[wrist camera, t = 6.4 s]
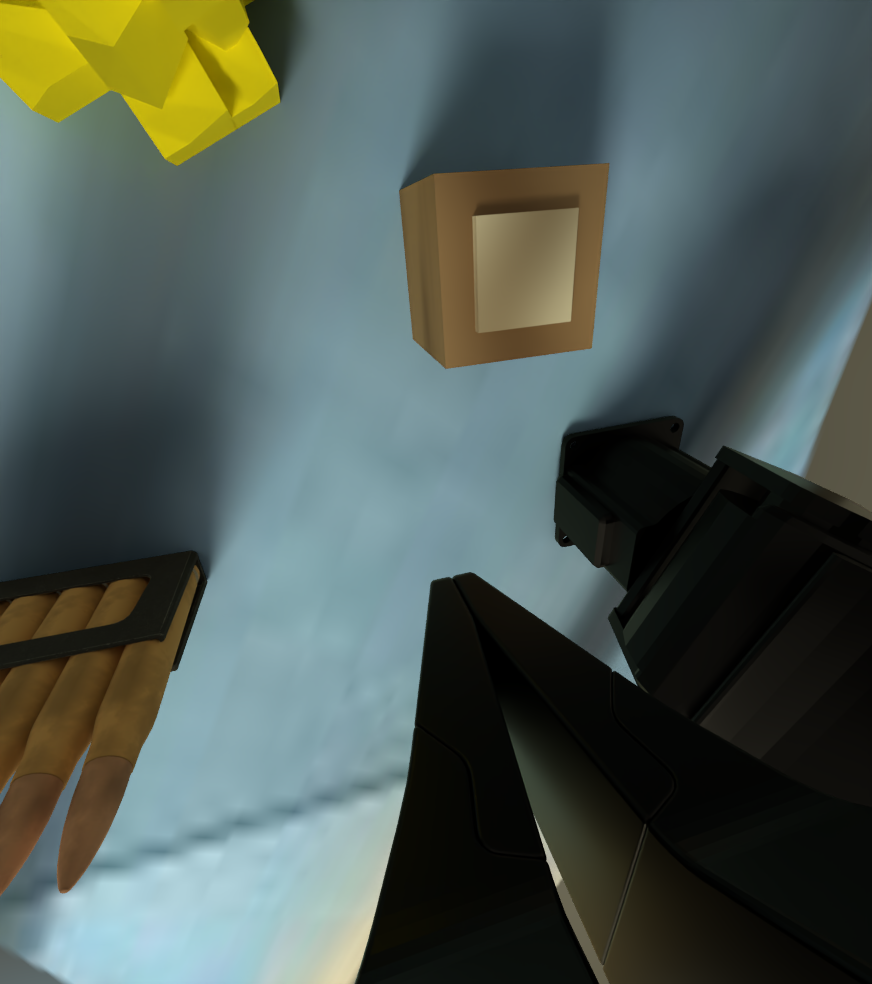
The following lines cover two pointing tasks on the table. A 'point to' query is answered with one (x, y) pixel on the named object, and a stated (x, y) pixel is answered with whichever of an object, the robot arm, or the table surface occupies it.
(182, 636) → the ammunition clip
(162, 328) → the table surface
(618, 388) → the table surface
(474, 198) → the walnut tagged block
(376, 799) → the table surface
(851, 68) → the table surface
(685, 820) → the robot arm
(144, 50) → the crumpled paper
